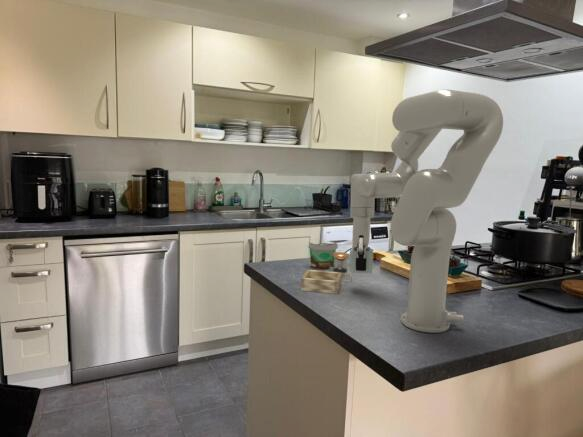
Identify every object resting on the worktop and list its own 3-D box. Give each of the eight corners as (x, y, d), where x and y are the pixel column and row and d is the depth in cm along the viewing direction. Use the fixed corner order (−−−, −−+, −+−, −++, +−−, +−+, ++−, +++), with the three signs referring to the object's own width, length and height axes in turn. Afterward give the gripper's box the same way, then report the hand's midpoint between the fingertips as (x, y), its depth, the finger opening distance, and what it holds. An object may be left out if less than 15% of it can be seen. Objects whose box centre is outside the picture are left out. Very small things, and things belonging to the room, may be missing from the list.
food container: (313, 271, 158) (314, 245, 157) (307, 267, 164) (308, 242, 162) (342, 269, 163) (343, 244, 161) (335, 265, 168) (336, 241, 167)
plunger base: (351, 276, 153) (352, 268, 153) (350, 282, 146) (350, 274, 145) (330, 274, 155) (330, 266, 155) (327, 280, 147) (327, 272, 147)
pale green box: (350, 268, 137) (351, 245, 136) (372, 270, 136) (372, 246, 135) (349, 272, 132) (350, 248, 132) (372, 273, 131) (372, 249, 130)
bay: (340, 283, 144) (341, 272, 143) (337, 293, 133) (338, 281, 133) (306, 280, 146) (307, 269, 146) (301, 290, 136) (301, 278, 135)
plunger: (348, 270, 152) (349, 252, 151) (347, 274, 147) (348, 256, 146) (333, 268, 153) (333, 251, 152) (331, 273, 148) (332, 255, 147)
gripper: (352, 210, 141) (351, 262, 143) (348, 214, 125) (347, 274, 126) (374, 210, 140) (373, 263, 141) (374, 215, 123) (372, 275, 125)
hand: (361, 268), depth 134 cm, fingers closed on pale green box, 5 cm apart
